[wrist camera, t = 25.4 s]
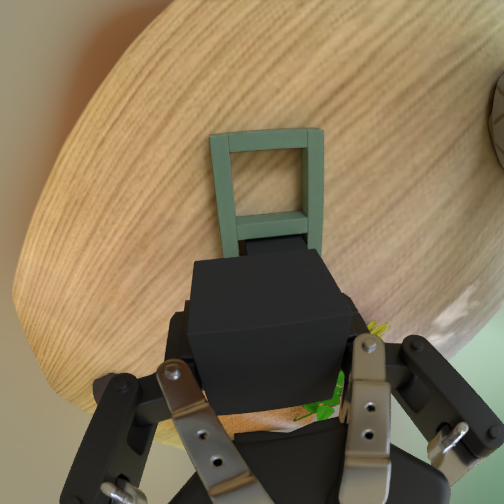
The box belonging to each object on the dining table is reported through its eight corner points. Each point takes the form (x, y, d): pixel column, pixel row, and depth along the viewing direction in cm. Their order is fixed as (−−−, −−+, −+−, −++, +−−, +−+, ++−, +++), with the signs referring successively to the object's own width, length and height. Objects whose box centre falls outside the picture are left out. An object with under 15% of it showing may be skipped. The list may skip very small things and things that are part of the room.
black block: (211, 345, 15) (213, 416, 11) (193, 260, 13) (186, 334, 9) (309, 333, 16) (332, 399, 12) (315, 247, 13) (353, 312, 9)
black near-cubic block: (248, 281, 31) (252, 308, 27) (243, 235, 29) (248, 259, 25) (297, 274, 32) (308, 300, 28) (297, 229, 29) (310, 251, 25)
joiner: (229, 298, 32) (230, 309, 30) (209, 134, 24) (209, 136, 22) (313, 287, 33) (318, 298, 31) (316, 127, 24) (324, 130, 22)
